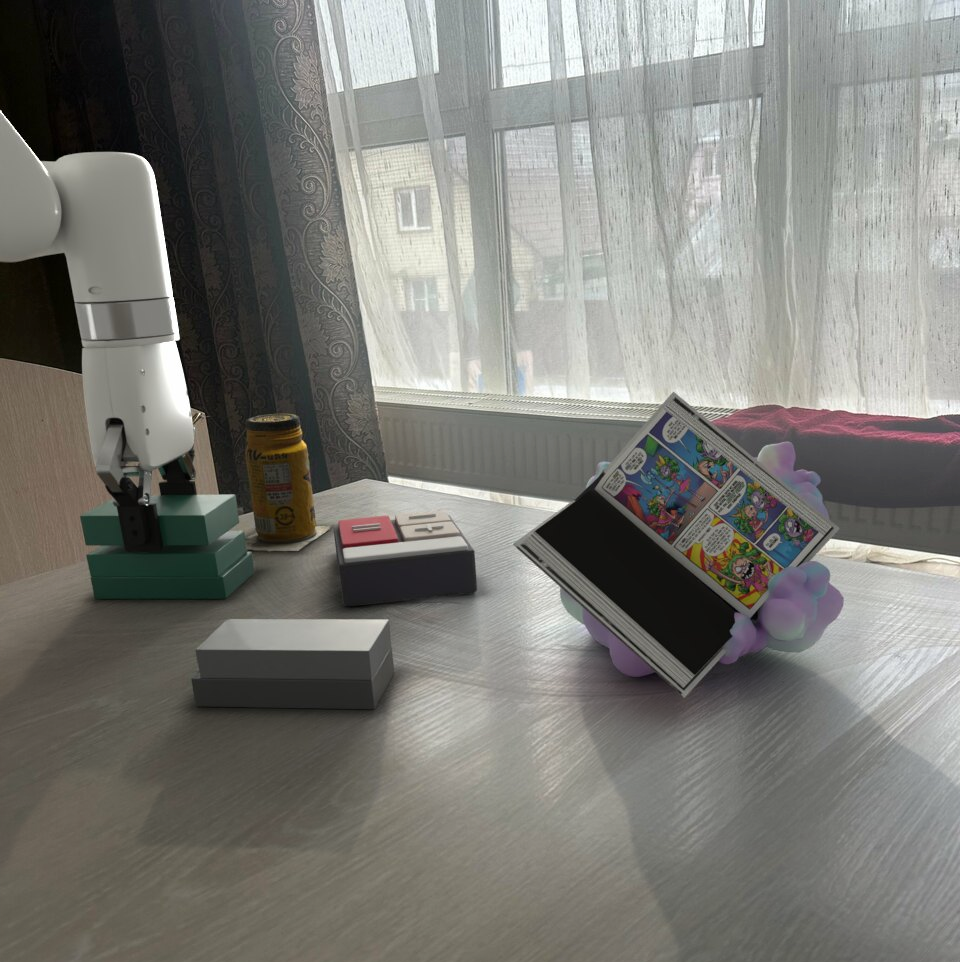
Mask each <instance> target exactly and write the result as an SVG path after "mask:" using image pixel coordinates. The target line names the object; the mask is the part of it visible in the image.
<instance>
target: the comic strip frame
mask: <svg viewBox="0 0 960 962" xmlns="http://www.w3.org/2000/svg"><path fill="white" fill-rule="evenodd" d="M796 455H797V454H796V451H795V447H794V444H793V443H792V442H791V441H782V442H778V443H770V444H766V445H764V446H763V447H762V448H761V449H760V451H759V453H758V455H757V456H755V457H754V456H752V455H751V454H750V453H749V452H748V451H746V450H745V449H744V448H743V447H742V446H740V445H739V444H738V443H737V442H735V440H734V439H732V438H731V437H730V436H729V435H728V434H726V433H725V432H723V430H721V429H719V428H718V427H717V426H716V425H715V424H714V423H713V422H712V421H710V420H709V419H708V418H706V417H705V416H704V415H703V414H701V413H700V412H699V411H698V410H697V409H695V407H693V406H692V405H691V404H690V403H688V402H687V401H686V400H685V399H683V397H681V396H680V395H678V393H676V392H675V391H672V392H671V393H670V395H669V396H668V397H667V398H666V399H665V401H663V402H662V404H661V405H660V406H659V407H658V408H657V410H656V411H654V413H653V414H652V415H651V416H650V417H649V419H648V420H647V421H646V422H645V423H644V424H643V426H642V427H641V428H640V429H639V430H638V431H637V432H636V433H635V435H633V437H632V438H631V439H630V440H629V441H628V442H627V444H626V445H625V446H624V447H623V448H622V449H621V450H620V452H619V453H618V454H617V455H616V456H615V458H613V460H612V461H611V462H610V461H608V460H605V461H600V462H599V463H598V464H597V467H596V472H595V475H593V476H592V477H590V478H589V480H588V482H587V483H586V486H585V490H583V491H582V492H581V493H580V494H579V495H578V496H577V497H576V498H575V499H572V500H571V501H570V502H569V503H567V504H566V505H565V506H563V507H562V508H560V509H559V510H558V511H556V512H554V514H552V515H551V516H549V517H548V518H547V519H545V520H544V521H542V522H541V523H539V524H538V525H537V526H536V527H534V528H533V529H532V530H530V531H528V532H527V533H525V535H523V536H521V537H520V538H518V539H517V540H515V541H514V542H513V544H512V545H513V546H514V547H515V548H516V549H517V550H518V551H519V552H520V553H521V554H523V555H524V556H525V557H526V558H527V559H528V560H529V561H530V562H531V563H533V565H535V566H536V567H537V568H538V569H539V570H540V571H542V572H543V573H544V574H545V575H546V576H547V577H548V578H549V579H551V580H552V581H553V582H554V583H555V584H556V585H557V586H559V597H560V598H559V599H560V601H561V604H562V606H563V608H564V609H565V611H566V612H567V613H568V614H569V615H570V616H571V617H572V618H573V619H574V620H576V621H577V622H579V623H581V624H582V625H583V626H584V627H585V629H586V630H587V632H588V633H589V636H591V638H593V639H594V640H595V641H596V642H597V643H599V644H600V645H603V646H604V647H606V648H608V649H609V656H610V659H611V662H612V665H614V667H615V668H616V669H617V670H618V671H619V672H620V673H622V674H624V675H625V676H628V677H631V678H640V677H644V676H649V675H651V674H654V673H655V674H657V675H658V676H659V677H660V678H661V679H662V680H663V681H665V682H666V683H667V684H668V685H669V686H670V687H671V688H672V689H674V690H675V691H676V692H677V693H678V694H679V695H680V696H682V698H685V699H686V697H687V696H688V695H689V694H690V693H691V692H692V690H693V689H694V688H695V687H696V686H697V685H698V684H699V683H700V682H701V681H702V679H704V677H705V676H706V675H707V674H708V673H709V672H710V671H711V670H712V668H713V667H714V666H715V665H716V664H717V663H718V662H719V663H721V664H723V665H730V664H734V663H736V662H737V660H738V659H739V658H741V657H743V656H746V655H747V654H754V653H758V652H761V651H763V650H764V649H766V648H768V649H771V650H775V651H777V652H778V651H779V652H785V653H799V654H800V653H801V652H805V651H807V650H809V649H810V648H812V647H813V646H815V644H816V643H817V642H818V641H820V640H821V638H822V636H823V634H824V632H825V631H826V629H827V628H828V627H829V626H830V625H831V624H832V623H833V622H834V621H836V620H837V619H838V617H839V615H840V614H841V612H842V610H843V608H844V601H845V597H844V596H843V594H842V593H841V591H840V590H839V589H838V588H836V587H835V586H834V585H833V584H831V582H830V580H831V572H830V569H829V568H828V567H827V566H826V565H825V564H823V563H822V562H820V561H817V560H813V559H814V557H815V556H816V555H817V554H818V553H819V552H820V551H821V550H822V549H823V548H824V547H825V545H827V543H829V541H830V540H831V539H832V538H833V537H834V536H835V535H836V533H838V532H839V530H840V529H841V528H840V527H839V526H837V525H836V524H835V523H834V522H833V521H832V520H830V515H829V513H828V510H827V508H826V506H825V505H824V502H823V494H822V493H821V491H820V490H819V488H817V486H818V485H820V483H821V477H820V475H818V473H817V472H815V471H808V470H806V469H803V468H802V469H798V470H796V471H795V470H794V465H795V462H796V457H797V456H796Z"/></svg>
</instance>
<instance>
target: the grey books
mask: <svg viewBox="0 0 960 962" xmlns="http://www.w3.org/2000/svg"><path fill="white" fill-rule="evenodd" d="M391 638H392V637H391V627H390V619H384V618H383V619H377V618H376V619H373V618H372V619H371V618H370V619H362V618H361V619H360V618H359V619H357V618H356V619H354V618H352V619H351V618H349V619H344V618H343V619H340V618H338V619H336V618H333V619H330V618H329V619H328V618H323V619H322V618H321V619H319V618H316V619H315V618H312V619H311V618H307V619H306V618H302V619H301V618H226V620H224V621H223V623H221V624H220V625H219V626H218V627H217V628H216V629H215V630H214V631H213V632H211V634H210V635H209V636H208V637H207V638H206V639H205V640H204V641H203V642H202V643H200V645H199V646H198V647H197V648H196V649H195V656H196V661H197V666H198V667H197V668H198V671H197V672H196V673H195V674H194V675H193V676H192V677H191V679H190V681H191V686H192V693H193V697H194V703H195V706H196V707H203V708H205V707H207V708H209V707H211V708H213V707H214V708H263V709H265V708H268V709H270V708H271V709H323V710H325V709H326V710H331V709H332V710H375V709H376V707H377V706H378V704H379V702H380V701H381V698H382V697H383V695H384V693H385V691H386V689H387V687H388V685H389V684H390V682H391V680H392V678H393V676H394V675H395V667H394V658H393V657H394V656H393V647H392V639H391Z"/></svg>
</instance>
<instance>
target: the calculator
mask: <svg viewBox="0 0 960 962" xmlns="http://www.w3.org/2000/svg"><path fill="white" fill-rule="evenodd" d="M333 536H334V546H335V554H336V561H337V568H338V573H339V580H340V581H339V582H340V589H341V596H342V602H343V603H342V604H343V605H344V606H345V607H356V606H357V607H358V606H364V605H365V606H366V605H373V604H383V603H393V602H401V601H402V602H403V601H411V600H419V599H427V598H435V597H446V596H456V595H465V594H473V593H475V592H477V591H478V584H477V582H478V581H477V569H476V555H475V553H476V552H475V550H474V548H473V546H472V545H471V544H470V543H469V541H468V539H467V538H466V537H465V535H464V534H463V532H462V530H461V529H460V528H459V527H458V525H457V523H456V522H455V521H454V519H453V518H452V517H451V515H450V514H448V513H447V512H446V510H445V509H439V510H428V511H418V512H407V513H399V514H395V515H394V519H391V518H390V516H389V515H379V516H377V515H376V516H369V517H368V516H366V517H358V518H348V519H340V520H338V524H337V525H334V526H333Z"/></svg>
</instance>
